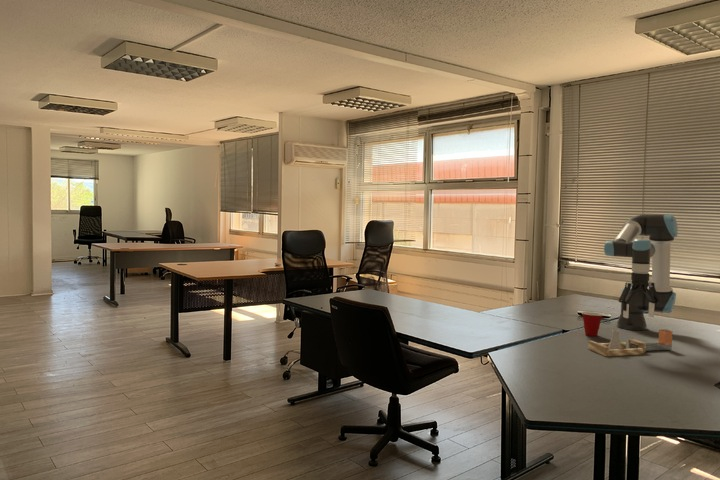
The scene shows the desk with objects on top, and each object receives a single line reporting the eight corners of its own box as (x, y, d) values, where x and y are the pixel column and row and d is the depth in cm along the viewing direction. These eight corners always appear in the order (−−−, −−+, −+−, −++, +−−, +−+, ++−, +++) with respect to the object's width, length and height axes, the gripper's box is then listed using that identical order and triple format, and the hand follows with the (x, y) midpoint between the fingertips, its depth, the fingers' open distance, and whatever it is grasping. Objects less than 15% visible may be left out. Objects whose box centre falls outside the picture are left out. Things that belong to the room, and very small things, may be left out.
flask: (625, 354, 250) (626, 332, 250) (608, 353, 252) (609, 332, 251) (620, 350, 257) (621, 329, 257) (604, 349, 259) (605, 328, 258)
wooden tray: (630, 347, 264) (630, 337, 263) (649, 354, 251) (649, 344, 251) (588, 349, 259) (588, 339, 258) (605, 356, 246) (605, 346, 246)
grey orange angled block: (665, 347, 263) (666, 329, 262) (671, 349, 259) (672, 331, 258) (629, 349, 259) (630, 330, 258) (635, 351, 255) (636, 332, 254)
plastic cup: (604, 334, 289) (605, 312, 289) (600, 338, 280) (601, 315, 280) (582, 331, 295) (583, 309, 295) (578, 335, 286) (579, 312, 286)
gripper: (657, 270, 261) (655, 314, 263) (611, 271, 256) (609, 316, 258) (669, 272, 254) (667, 317, 255) (622, 273, 249) (620, 319, 250)
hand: (638, 317), depth 257 cm, fingers open, 13 cm apart
